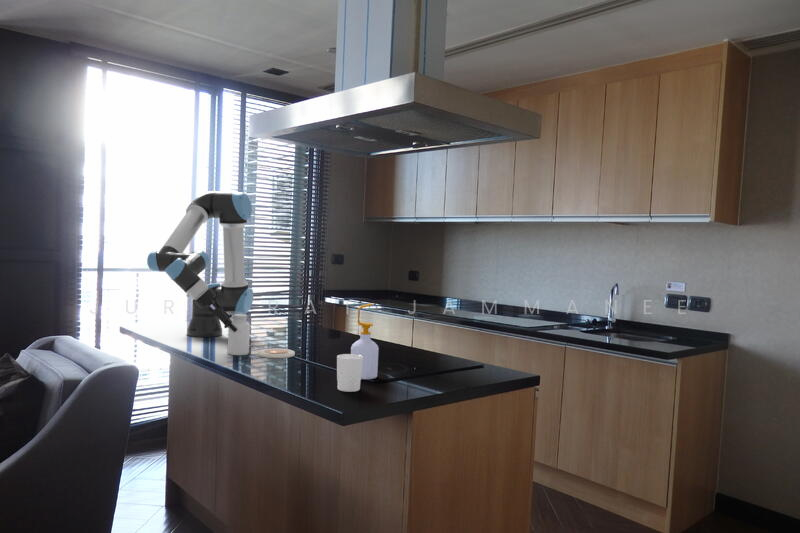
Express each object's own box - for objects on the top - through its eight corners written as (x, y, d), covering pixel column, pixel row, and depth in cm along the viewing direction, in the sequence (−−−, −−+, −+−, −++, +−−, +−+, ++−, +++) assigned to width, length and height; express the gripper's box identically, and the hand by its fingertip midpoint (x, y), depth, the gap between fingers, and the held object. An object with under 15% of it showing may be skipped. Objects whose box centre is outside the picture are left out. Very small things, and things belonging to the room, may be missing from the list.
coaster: (256, 351, 229) (256, 348, 229) (291, 351, 233) (292, 347, 233) (259, 358, 215) (259, 354, 215) (297, 358, 220) (297, 354, 220)
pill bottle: (245, 356, 219) (247, 316, 218) (224, 355, 219) (226, 315, 218) (251, 352, 227) (253, 314, 226) (230, 351, 227) (232, 313, 226)
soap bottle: (377, 380, 190) (381, 305, 189) (349, 379, 189) (353, 304, 189) (376, 374, 199) (380, 302, 198) (350, 373, 198) (353, 301, 198)
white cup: (356, 393, 171) (358, 359, 171) (331, 390, 173) (333, 357, 173) (365, 387, 179) (366, 355, 179) (341, 385, 181) (342, 353, 181)
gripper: (194, 297, 228) (232, 336, 233) (192, 304, 205) (235, 346, 210) (209, 284, 230) (246, 323, 235) (209, 289, 206) (251, 332, 211)
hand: (241, 334), depth 222 cm, fingers open, 13 cm apart
